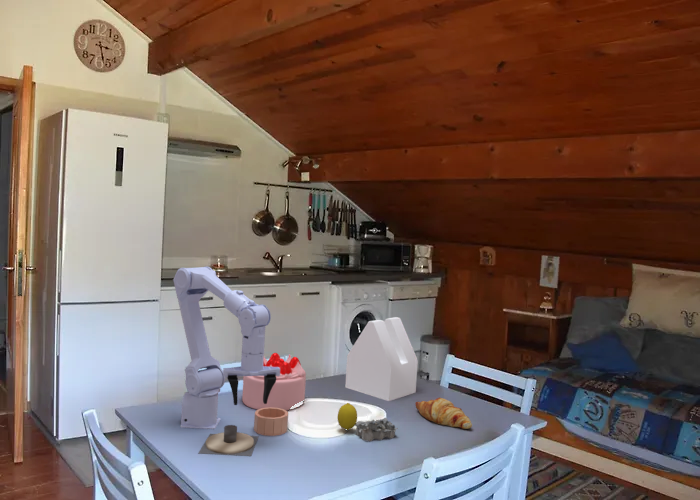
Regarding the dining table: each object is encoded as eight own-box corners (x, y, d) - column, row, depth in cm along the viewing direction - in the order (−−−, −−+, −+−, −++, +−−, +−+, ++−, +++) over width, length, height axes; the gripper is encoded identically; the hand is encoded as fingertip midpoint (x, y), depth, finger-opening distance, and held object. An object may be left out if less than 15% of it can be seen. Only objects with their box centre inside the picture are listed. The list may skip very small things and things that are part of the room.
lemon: (354, 435, 165) (356, 407, 165) (334, 433, 166) (336, 404, 166) (358, 428, 171) (359, 401, 170) (339, 426, 172) (340, 398, 171)
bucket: (251, 435, 161) (252, 417, 160) (256, 423, 170) (257, 406, 169) (285, 437, 161) (286, 419, 161) (288, 425, 170) (289, 408, 170)
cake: (257, 389, 202) (260, 347, 201) (313, 397, 197) (316, 354, 196) (231, 406, 184) (233, 360, 183) (292, 416, 178) (294, 369, 177)
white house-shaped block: (345, 387, 210) (349, 317, 209) (372, 380, 222) (376, 313, 220) (388, 401, 198) (393, 326, 196) (415, 392, 209) (420, 321, 208)
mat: (198, 454, 147) (198, 453, 147) (210, 435, 160) (210, 433, 160) (251, 457, 147) (251, 456, 147) (258, 437, 160) (258, 436, 160)
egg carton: (363, 443, 161) (364, 428, 161) (352, 433, 168) (353, 418, 168) (398, 439, 166) (399, 424, 165) (386, 429, 172) (386, 415, 172)
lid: (200, 452, 147) (201, 434, 147) (211, 434, 159) (212, 417, 159) (249, 455, 147) (250, 437, 147) (256, 436, 159) (257, 420, 159)
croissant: (475, 440, 177) (485, 414, 179) (459, 431, 170) (469, 405, 172) (419, 418, 192) (428, 395, 194) (402, 409, 185) (412, 385, 187)
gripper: (226, 356, 149) (223, 409, 150) (283, 355, 154) (280, 407, 154) (223, 349, 156) (220, 400, 157) (278, 348, 160) (275, 398, 161)
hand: (250, 403), depth 156 cm, fingers open, 7 cm apart
